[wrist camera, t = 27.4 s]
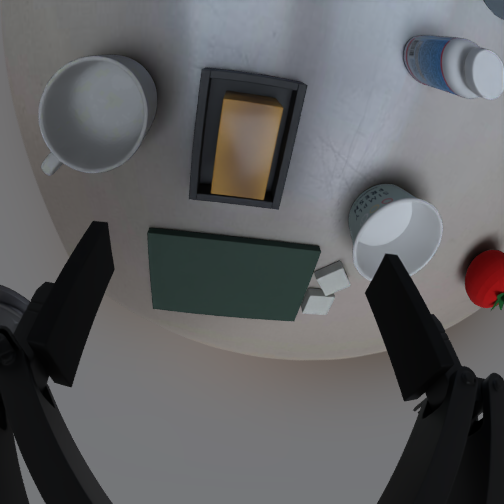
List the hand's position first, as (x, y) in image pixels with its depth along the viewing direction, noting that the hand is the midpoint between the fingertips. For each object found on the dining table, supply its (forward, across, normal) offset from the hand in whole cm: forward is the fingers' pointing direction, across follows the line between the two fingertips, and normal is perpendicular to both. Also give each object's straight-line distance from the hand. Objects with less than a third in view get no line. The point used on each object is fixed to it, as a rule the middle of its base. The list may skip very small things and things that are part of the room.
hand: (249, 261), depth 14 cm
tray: (+21, 0, 0) cm, 21 cm away
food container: (+21, +19, -7) cm, 29 cm away
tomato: (+21, +44, -12) cm, 50 cm away
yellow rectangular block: (+20, 0, 0) cm, 20 cm away
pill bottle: (+21, +18, +14) cm, 31 cm away
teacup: (+21, -15, +2) cm, 26 cm away
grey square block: (+21, +15, -23) cm, 34 cm away
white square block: (+21, +15, -18) cm, 31 cm away
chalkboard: (+21, +1, -20) cm, 29 cm away
